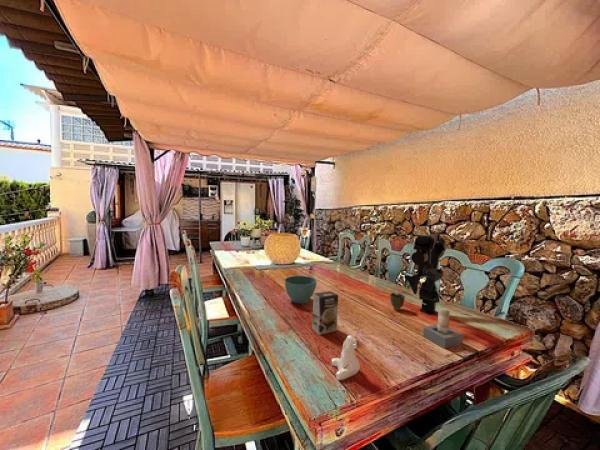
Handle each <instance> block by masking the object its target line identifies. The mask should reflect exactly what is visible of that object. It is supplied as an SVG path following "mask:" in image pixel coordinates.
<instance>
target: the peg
mask: <svg viewBox="0 0 600 450" xmlns="http://www.w3.org/2000/svg"><path fill="white" fill-rule="evenodd" d="M437 312H438V313H437V316H438V317H437V325H438V326H437V332H439V333H441V334H443V335H447V334H448V331H449V328H450V314H451V311H450V310H449V309H446V308H438V311H437Z"/></svg>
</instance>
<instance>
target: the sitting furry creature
mask: <svg viewBox="0 0 600 450" xmlns="http://www.w3.org/2000/svg"><path fill="white" fill-rule="evenodd" d="M357 347H358V342H357V339H356V338H355V337H354V335H353V334H348V335H347V337H346V339H345V340H344V341H343V344H342V350H341V353H340V358H339V357H335V358H334V357H333V358H331V366H333V367H336V368H337V369H338V371H337V372H336V373H335V378H336V380H337V381H344V380H346V379H348V378H350V377H353V376H355V375H356V374H358V372H359V370H361V369H360V368H361V366H360V365H361V364H360V362H359V360H358V358H357V356H356V352H355V349H357Z"/></svg>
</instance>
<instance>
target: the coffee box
mask: <svg viewBox="0 0 600 450" xmlns="http://www.w3.org/2000/svg"><path fill="white" fill-rule="evenodd" d="M312 297H313V300H312V301H313V302H312V305H313V306H312V324H311V325H312V326H311V328H312V329H311V330H313V331H314V332H315V333H316V334H317V335H318V336H321V335H326V334H329V333H334V332H337V330H338V312H339V311H338V306H339V305H338V304H339V303H338V302H339V294H338V293H336V292H333V291H322V292H314V293H313V296H312Z"/></svg>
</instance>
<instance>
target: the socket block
mask: <svg viewBox="0 0 600 450" xmlns="http://www.w3.org/2000/svg"><path fill="white" fill-rule="evenodd" d="M437 326H438V324H434V325H428V326H424V327H423V330H422V332H423V335H422V337H423V338H425V339H426V340H428V341H430V342H432V343H434V344H436V345H438V346H440V347H441V348H443V349H449V348H451V347H456V346H459V345H463V338H464V334H463V333H461V332H459V331H457V330H456V329H455V330H454V329H452V328H450V327H449V331H448V334H447V335H443V334H441V333H439V332H437Z"/></svg>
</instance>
